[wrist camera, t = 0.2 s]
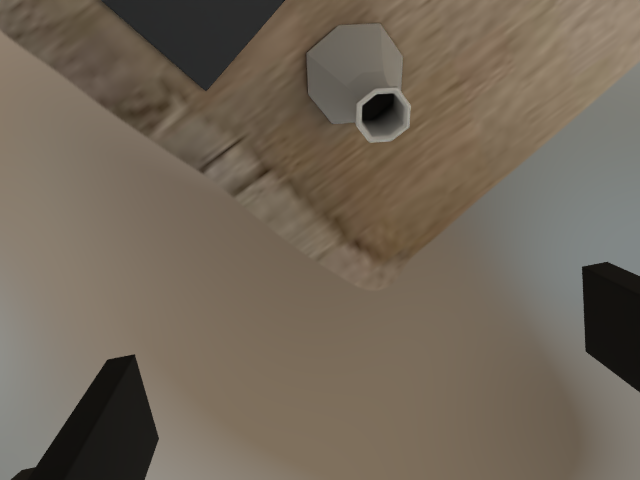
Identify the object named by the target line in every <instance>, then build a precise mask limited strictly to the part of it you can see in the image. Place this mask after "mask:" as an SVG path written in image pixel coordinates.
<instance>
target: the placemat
mask: <svg viewBox="0 0 640 480" xmlns="http://www.w3.org/2000/svg"><path fill="white" fill-rule="evenodd" d="M101 1H102V2H104V3H105V4H106V5H107V6H108V7H109V8H110V9H112V10H113V11H114V12H115V13H116V14H117V15H119V16H120V17H121V18H122V19H123V20H124V21H125V22H127V23H128V24H129V25H130V26H131V27H132V28H134V29H135V30H136V31H137V32H138V33H139V34H140V35H142V36H143V37H144V38H145V39H146V40H147V41H149V42H150V43H151V44H152V45H153V46H154V47H155V48H157V49H158V50H159V51H160V52H161V53H162V54H164V55H165V56H166V57H167V58H168V59H169V60H170V61H172V62H173V63H174V64H175V65H176V66H177V67H179V68H180V69H181V70H182V71H183V72H184V73H185V74H187V75H188V76H189V77H190V78H191V79H192V80H193V81H195V82H196V83H197V84H198V85H199V86H200V87H202V88H203V89H204V90H205V91H207V90H208V89H209V87H210V86H211V85H212V84H213V83H214V82H215V80H216V79H217V78H218V77H219V76H220V75H221V74H222V72H223V71H224V70H225V69H226V68H227V67H228V65H229V64H230V63H231V62H232V61H233V60H234V59H235V57H236V56H237V55H238V54H239V53H240V52H241V50H242V49H243V48H244V47H245V46H246V45H247V44H248V42H249V41H250V40H251V39H252V38H253V37H254V35H255V34H256V33H257V32H258V31H259V30H260V29H261V27H262V26H263V25H264V24H265V23H266V22H267V20H268V19H269V18H270V17H271V16H272V15H273V14H274V12H275V11H276V10H277V9H278V8H279V7H280V5H281V4H282V3H283V2H284V1H285V0H101Z"/></svg>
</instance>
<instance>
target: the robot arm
mask: <svg viewBox="0 0 640 480" xmlns="http://www.w3.org/2000/svg"><path fill="white" fill-rule="evenodd" d="M582 275H583V300H584V324H585V348H586V352H587V353H588V354H590V355H591V356H592V357H594V358H595V359H596V360H598V361H599V362H600V363H602V364H603V365H604V366H606V367H607V368H608V369H610V370H611V371H612V372H614V373H615V374H616V375H618V376H619V377H620V378H622V379H623V380H624V381H626V382H627V383H628V384H630V385H631V386H632V387H634V388H635V389H636V390H637V391H639V392H640V276H638V275H636V274H633V273H631V272H629V271H627V270H624V269H622V268H620V267H617V266H615V265H613V264H611V263H608V262H604V263H599V264H594V265H589V266H584V267H582ZM158 440H159V437H158V434H157V431H156V427H155V423H154V420H153V417H152V413H151V409H150V406H149V402H148V399H147V396H146V392H145V389H144V385H143V382H142V378H141V375H140V371H139V368H138V364H137V361H136V358H135V355H129V356H124V357H119V358H114V359H109V360H107V361H106V363H105V364H104V366H103V367H102V369H101V370H100V372H99V373H98V375H97V376H96V378H95V379H94V381H93V382H92V384H91V385H90V387H89V388H88V390H87V391H86V393H85V394H84V396H83V397H82V399H81V400H80V402H79V403H78V405H77V406H76V408H75V409H74V411H73V412H72V414H71V415H70V417H69V418H68V420H67V421H66V423H65V424H64V426H63V427H62V429H61V430H60V432H59V433H58V435H57V436H56V438H55V439H54V441H53V442H52V444H51V445H50V447H49V448H48V450H47V451H46V453H45V454H44V456H43V457H42V459H41V460H40V462H39V463H38V465H37V466H36V467H35V468H30V469H25V470H21V471H20V472H19V473H18V474H17V475H16V476H15V477H13V478H12V479H11V480H145V477H146V474H147V471H148V468H149V465H150V463H151V460H152V457H153V454H154V451H155V448H156V445H157V442H158Z"/></svg>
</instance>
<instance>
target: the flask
mask: <svg viewBox="0 0 640 480" xmlns="http://www.w3.org/2000/svg"><path fill="white" fill-rule="evenodd" d="M402 64H403V56H402V55H401V53H400V52H399V50H398V49H397V47H396V46H395V44H394V43H393V41H392V40H391V39H390V37H389V36H388V34H387V33H386V31H385V30H384V28H383V27H382V25H381V24H380V23H374V24H353V25H338V26H337V27H336V28H335V29H334V30H333V31H331V32H330V33H329V34H328V35H327V36H326V37H325V38H323V39H322V40H321V41H320V42H319V43H318V44H316V45H315V46H314V47H313V48H312V49H311V50H310V51H308V52H307V78H308V95H309V96H310V97H311V98H312V100H313V101H314V102H315V103H316V105H317V106H318V107H319V108H320V109H321V111H322V112H323V113H324V114H325V116H326V117H327V118H328V119H329V120H330V122H331V123H332V124H339V123H356V126H357V128H358V129H359V130H360V131H361V133H362V134H363V135H364V136H365V138H366V139H367V140H368V142H369V143H371V142H387V141H392V140H393V139H395V138H396V137H397V136H399V135H400V134H401V133H402V132H404V131H405V130H406V129H408V128H409V122H410V106H411V105H410V104H409V102H408V101H407V99H406V98H405V97H404V95H403V94H402V92H401V83H402Z"/></svg>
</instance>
